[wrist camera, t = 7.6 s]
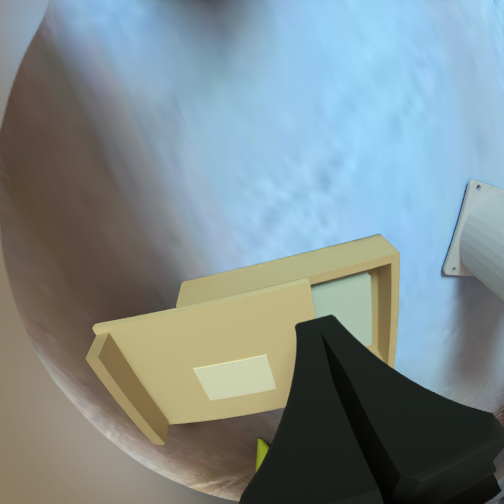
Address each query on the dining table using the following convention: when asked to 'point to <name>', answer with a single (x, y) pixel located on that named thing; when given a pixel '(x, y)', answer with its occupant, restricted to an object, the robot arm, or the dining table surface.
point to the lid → (203, 357)
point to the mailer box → (327, 287)
